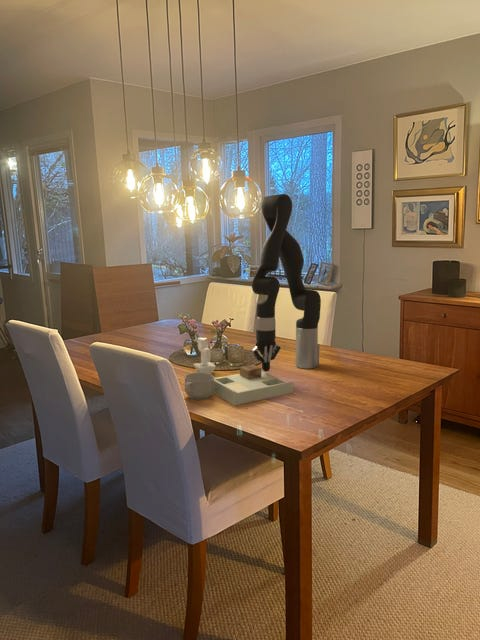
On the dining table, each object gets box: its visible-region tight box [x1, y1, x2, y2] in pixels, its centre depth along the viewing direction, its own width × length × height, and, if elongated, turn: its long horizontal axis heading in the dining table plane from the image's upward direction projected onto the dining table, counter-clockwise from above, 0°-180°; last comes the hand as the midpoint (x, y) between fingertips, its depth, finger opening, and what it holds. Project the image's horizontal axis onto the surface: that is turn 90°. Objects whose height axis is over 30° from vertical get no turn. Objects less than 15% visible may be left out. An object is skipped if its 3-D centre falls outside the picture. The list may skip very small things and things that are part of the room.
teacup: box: [184, 371, 216, 401], centre depth 192 cm, size 14×11×8 cm
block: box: [239, 364, 262, 379], centre depth 207 cm, size 6×6×4 cm
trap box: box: [212, 370, 294, 406], centre depth 200 cm, size 25×24×5 cm
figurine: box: [193, 337, 217, 375], centre depth 221 cm, size 7×9×15 cm
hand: (265, 370), depth 211 cm, fingers closed
